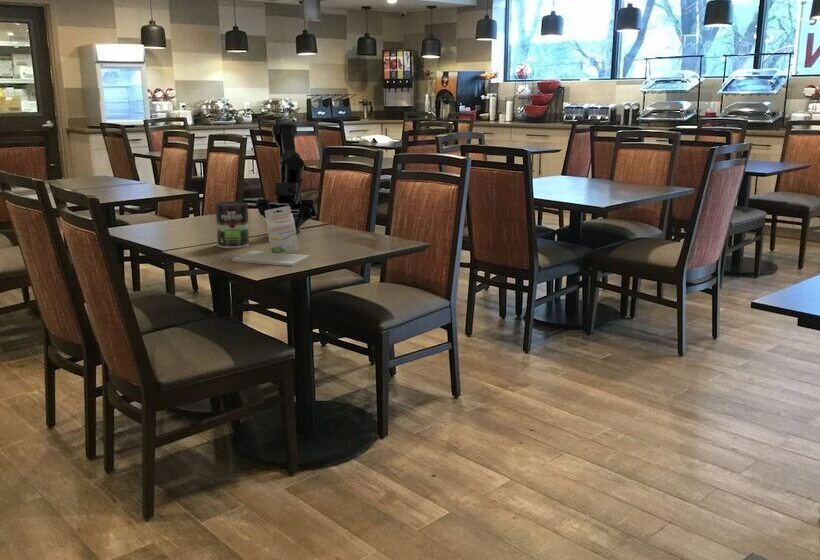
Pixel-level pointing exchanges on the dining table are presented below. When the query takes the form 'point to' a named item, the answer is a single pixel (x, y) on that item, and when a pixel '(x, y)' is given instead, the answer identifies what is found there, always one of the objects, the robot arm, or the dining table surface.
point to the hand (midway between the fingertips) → (281, 228)
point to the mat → (271, 258)
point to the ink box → (281, 230)
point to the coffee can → (232, 224)
